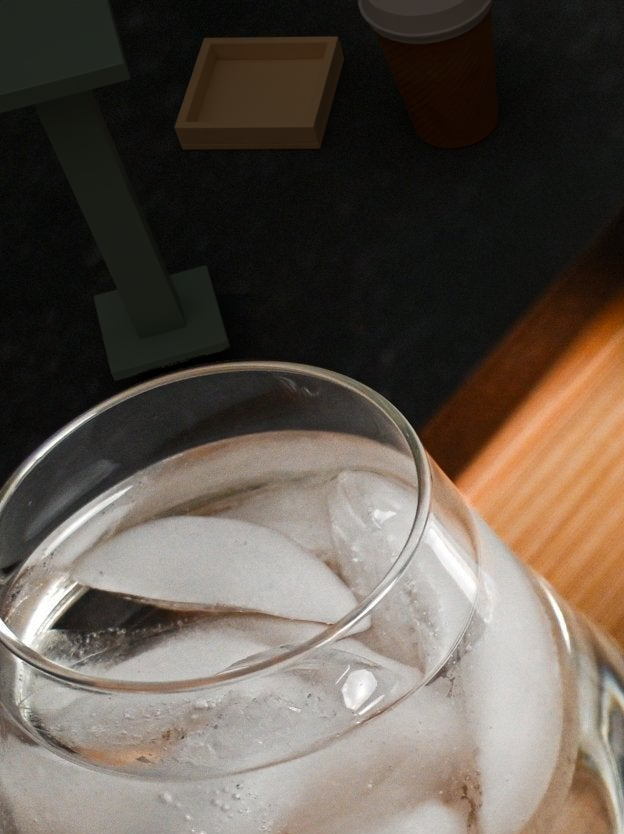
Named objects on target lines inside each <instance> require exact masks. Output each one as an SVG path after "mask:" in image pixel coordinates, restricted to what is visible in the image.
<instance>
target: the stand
mask: <svg viewBox="0 0 624 834" xmlns="http://www.w3.org/2000/svg"><path fill="white" fill-rule="evenodd" d="M122 44H123V43H122V41H121V37H120V33H119V30H118V25H117V22H116V18H115V15H114V11H113V7H112V4H111V0H0V114H4V113H6V112H11V111H14V110H18V109H23V108H26V107H29V106H33V107H34V109H35V111H36V113H37V116H38V118H39V120H40V122H41V125H42V127H43V129H44V131H45V134H46V135H47V137H48V140H49V142H50V144H51V146H52V149H53V151H54V154H55V155H56V157H57V160H58V162H59V164H60V166H61V168H62V170H63V173H64V175H65V178H66V180H67V181H68V184H69V186H70V188H71V190H72V192H73V195H74V197H75V200H76V201H77V203H78V206H79V208H80V210H81V212H82V215H83V216H84V219H85V221H86V223H87V225H88V228H89V230H90V232H91V235H92V236H93V238H94V241H95V243H96V246H97V247H98V249H99V252H100V254H101V257H102V259H103V261H104V263H105V265H106V267H107V270H108V272H109V274H110V276H111V279H112V281H113V283H114V284H115V288H116V289H113V290H110V291H106V292H103V293H99V294H94V295H93V301H94V305H95V310H96V314H97V318H98V324H99V327H100V331H101V332H100V333H101V336H102V340H103V344H104V349H105V353H106V358H107V363H108V367H109V371H110V374H111V376H112V379H113V380H114V382H117V381H120V380H124V379H127V378H131V377H134V376H133V375H135V376H137V375H136V374H138V373H141V372H143V371H145V370H148V369H149V368H154V367H155V366H156V367H159V366H162V368H161V369H163V368H166V367H165V366H163V365H168V364H170V363H172V364H171V365H168V366H167V367H170V366H173V365H177V363H175V364H173V362H176V361H179V360H185V359H186V358H190V357H192V356H198V355H206V356H210V355H212V354H216V353H221V352H223V350H224V349H225V347H226V346H229V345H230V346H231V343H230V339H229V336H228V333H227V330H226V326H224V325H225V322H224V319H222V318H223V316H222V311H221V308H220V305H219V301H218V297H217V294H216V290H215V287H214V283H213V279H212V276H211V272H210V270H209V268H208V265H206V264H205V265H202V266H197V267H194V268H190V269H187V270H183V271H179V272H176V273H172V274H170V272H169V270H168V267H167V266H166V264H165V261H164V259H163V255H162V254H161V251H160V249H159V247H158V244H157V242H156V240H155V237H154V235H153V232H152V230H151V227H150V224H149V222H148V221H147V220H148V219H147V218H146V215H145V213H144V211H143V208H142V206H141V203H140V201H139V199H138V196H137V194H136V192H135V190H134V187H133V185H132V182H131V180H130V178H129V175H128V172H127V171H126V169H125V166H124V164H123V161H122V158H121V157H120V154H119V152H118V150H117V146H116V144H115V143H114V140H113V137H112V135H111V133H110V130H109V128H108V126H107V122H106V121H105V118H104V115H103V113H102V111H101V108H100V107H99V104H98V102H97V100H96V97H95V94H94V93H93V90H95V89H100V88H103V87H107V86H111V85H115V84H119V83H123V82H126V81H130V80H131V74H130V71H129V67H128V63H127V59H126V56H125V52H124V48H123V45H122ZM227 336H228V337H227ZM229 343H230V344H229ZM224 351H225V350H224ZM209 354H210V355H209ZM185 362H187V360H185V361H180V363H179V364H181V363H185ZM138 375H139V374H138Z"/></svg>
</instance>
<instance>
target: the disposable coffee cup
mask: <svg viewBox="0 0 624 834" xmlns="http://www.w3.org/2000/svg"><path fill="white" fill-rule="evenodd" d="M357 4H358V9H359V11H360V14H361V16H362V18H363V19H364V20H365V22H366V23H367V24H368V25H369V26H370V27H371V29H372V30H373V33H374V35H375V37H376V40H377V41H378V43H379V47H380V49H381V52H382V53H383V56H384V58H385V61H386V63H387V66H388V68H389V70H390V72H391V75H392V77H393V80H394V83H395V84H396V87H397V89H398V92H399V94H400V97H401V99H402V102H403V104H404V107H405V109H406V111H407V113H408V116H409V118H410V121H411V123H412V126H413V128H414V131H415V134H416V135H417V136H418V137H419V139H421V140H422V141H423V142H424V143H426V144H428V145H431V146H433V147H437V148H442V149H457V148H459V149H460V148H464V147H468V146H471V145H474V144H477V143H479V142H481V141H482V140H483V139H486V138H487V137H488V136H489V135H491V133H492V132H493V131H494V129H495V128H496V127H497V125H498V122H499V118H500V117H499V116H500V115H499V103H498V89H497V75H496V73H497V71H496V61H495V60H496V59H495V46H494V45H495V44H494V29H493V16H492V15H493V14H492V5H493V0H357Z"/></svg>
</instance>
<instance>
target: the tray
mask: <svg viewBox="0 0 624 834" xmlns="http://www.w3.org/2000/svg"><path fill="white" fill-rule="evenodd" d="M195 61H196V62H195V64H194V67H193V71H192V73H191V77H190V79H189V82H188V85H187V88H186V92H185V95H184V98H183V101H182V103H181V107H180V110H179V112H178V115H177V118H176V122H175V124H174V131H175V133H176V136H177V138H178V141H179V144H180V147H181V149H182V150H183V151H188V150H189V151H193V150H199V151H202V150H203V151H205V150H207V151H208V150H209V151H210V150H213V151H215V150H217V151H219V150H320V149H321V148H322V144H323V143H322V142H323V140H324V137H325V132H326V129H327V125H328V121H329V117H330V114H331V110H332V106H333V102H334V98H335V95H336V91H337V88H338V83H339V80H340V76H341V73H342V69H343V65H344V63H345V55H344V52H343V49H342V45H341V42H340V39H339V36H266V37H265V36H255V37H254V36H252V37H251V36H250V37H249V36H248V37H204V38H203V40H202V43H201V47H200V49H199V52H198V55H197V59H196V60H195Z"/></svg>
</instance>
